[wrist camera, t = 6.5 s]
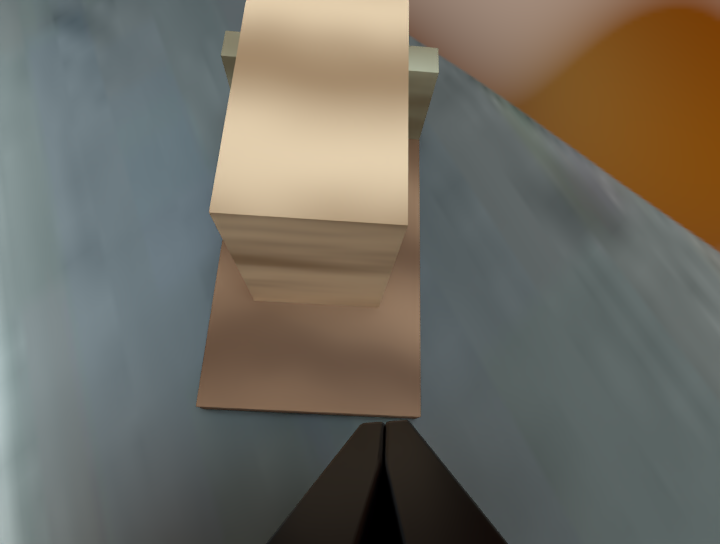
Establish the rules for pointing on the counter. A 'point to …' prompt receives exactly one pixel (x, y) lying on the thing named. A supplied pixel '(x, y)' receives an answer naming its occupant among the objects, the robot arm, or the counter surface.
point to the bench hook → (324, 319)
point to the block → (316, 150)
